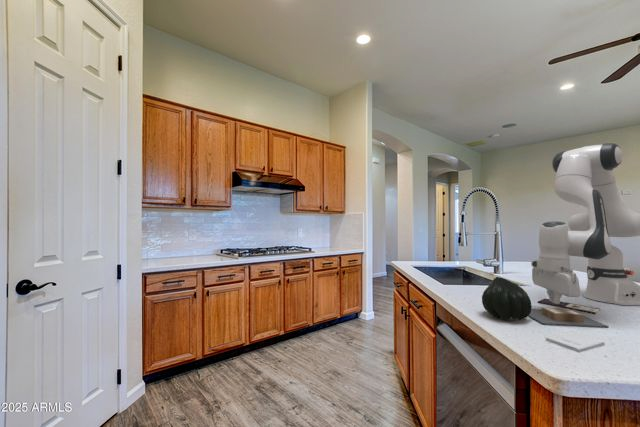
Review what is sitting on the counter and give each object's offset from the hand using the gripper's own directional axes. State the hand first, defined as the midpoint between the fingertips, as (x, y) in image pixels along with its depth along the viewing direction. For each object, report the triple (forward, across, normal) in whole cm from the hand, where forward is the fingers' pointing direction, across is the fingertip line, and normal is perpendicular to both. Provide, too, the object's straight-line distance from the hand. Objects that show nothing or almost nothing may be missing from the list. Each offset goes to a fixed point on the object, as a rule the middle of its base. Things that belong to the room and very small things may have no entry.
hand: (554, 302), depth 107 cm
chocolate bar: (+6, +13, -13) cm, 20 cm away
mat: (+5, -3, +1) cm, 6 cm away
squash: (+5, -4, +19) cm, 20 cm away
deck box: (+3, -1, +1) cm, 3 cm away
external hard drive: (+5, -25, +11) cm, 27 cm away
